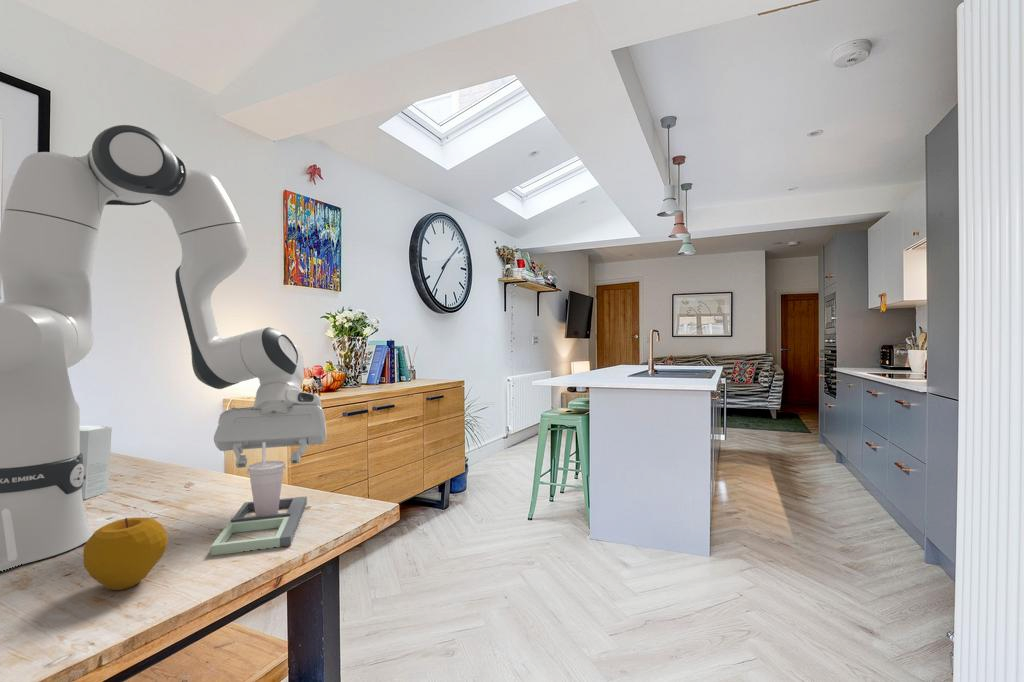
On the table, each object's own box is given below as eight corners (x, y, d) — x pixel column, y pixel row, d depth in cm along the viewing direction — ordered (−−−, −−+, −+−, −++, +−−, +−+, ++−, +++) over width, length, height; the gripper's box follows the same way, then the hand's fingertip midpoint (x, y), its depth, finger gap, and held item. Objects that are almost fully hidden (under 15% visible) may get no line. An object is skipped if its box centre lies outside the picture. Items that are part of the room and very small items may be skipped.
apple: (184, 571, 67) (184, 508, 67) (121, 605, 58) (121, 533, 58) (132, 565, 68) (132, 504, 68) (63, 599, 60) (63, 529, 60)
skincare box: (48, 500, 98) (48, 429, 98) (76, 490, 104) (76, 424, 104) (86, 500, 97) (86, 429, 98) (112, 491, 103) (112, 424, 104)
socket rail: (211, 555, 72) (211, 545, 72) (244, 509, 91) (244, 502, 91) (290, 545, 75) (290, 536, 75) (306, 503, 95) (306, 496, 95)
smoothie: (239, 518, 87) (239, 443, 87) (271, 507, 92) (271, 437, 92) (261, 524, 84) (261, 447, 84) (293, 513, 89) (292, 440, 89)
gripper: (218, 399, 94) (202, 459, 84) (327, 395, 100) (323, 450, 90) (224, 418, 98) (210, 477, 88) (328, 413, 104) (325, 467, 95)
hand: (268, 463), depth 89 cm, fingers open, 8 cm apart
